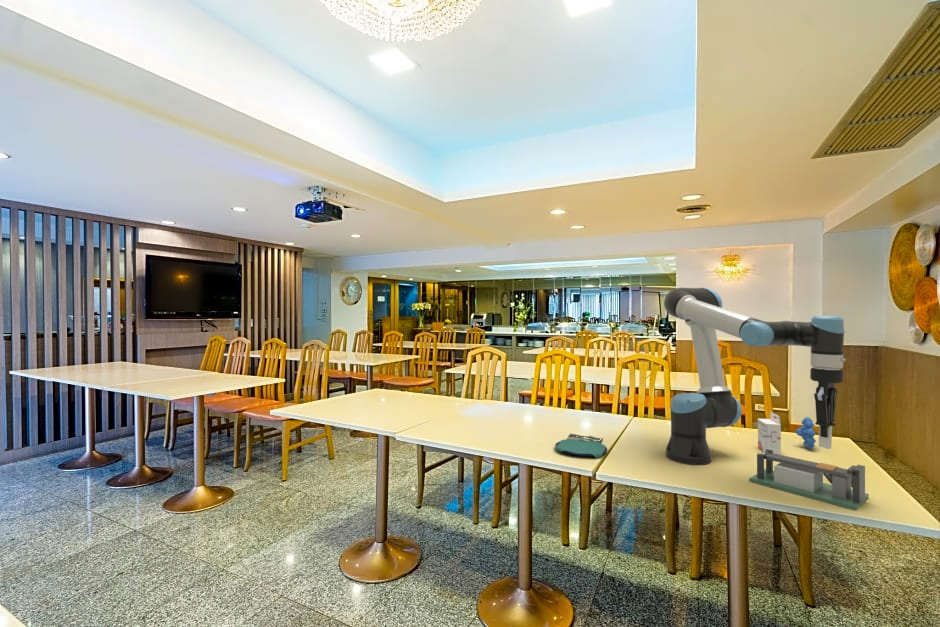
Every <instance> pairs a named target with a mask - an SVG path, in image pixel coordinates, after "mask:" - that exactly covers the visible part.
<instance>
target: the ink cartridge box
mask: <svg viewBox="0 0 940 627" xmlns="http://www.w3.org/2000/svg"><path fill="white" fill-rule="evenodd" d="M769 415H770V418H757V448H758V449H760V450H761V451H762V452H765V451H766V449H769V450H773V453H774V454H779V455H782V451H781V450H782V438H781V436H782V434H781V433H782V430H781V427H782V425H781V417H780V416H779V415H778V414H777V413H774V412H772V411H769Z"/></svg>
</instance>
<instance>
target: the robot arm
mask: <svg viewBox="0 0 940 627" xmlns="http://www.w3.org/2000/svg"><path fill="white" fill-rule="evenodd" d="M663 307H664V309H665V311H666V313H668V314H669V316H672V317H675V318H678V319H680V320H683V321H684V322H685V324H686V326H688V327H689V328H690V333H691V339H692V340H691V341H692V346H693V351H694V357H695V364H696V370H697V376H698V381H699V382H698V383H699V389H698V390H697V391H696V392H682V393H677V394H675V395H673V396H672V398H671V402H670V406H669V407H670V408H669V409H670V437H669V441H668V443H667V446H666V448H665V456H666V457H667V458H668V459H670V460H672V461H675V462H678V463H683V464H688V465H708V464H710V463H712V453H711V450H710V448H709V447H710V446H709V444H708V441H707V429H711V428H712V429H714V428H715V429H716V428H726V427H729V426H733V425H735V424H737V423H738V421H739V420H741V418H742V405H741V403H740V401H739V400H738V399H737V397H736V396H734V395H732V390H731V389H730V388H729V387H728V386H726V381H725V376H724V369H723V364H722V359H721V354H720V347H719V341H718V337H717V331H719V332H723V333H724V334H728V335H730V336H733V337H736V338H738V339H741V341H742V342H743V343H744V344H745V345H747V346H750V347H756V348H762V347H776V346H777V347H779V346H781V347H782V346H797V347H809V348H810V366H811V368H810V376H809V378H810V380H811V381H813V382H817V387H816V388H815V392H814V394H813V397H814V402H815V415H816V416H815V418H816V422H815V423H814V425H815V426H818V447H819V448H824V449H828V450H830V449H832V445H833V444H832V443H833V442H832V441H833V439H832V438H833V436H832V434H833V432H832V431H833V426H834V427H836V425H837V424H836V423H835V416H836V415H835V414H836V404H837V396H838V389H837V388H836V386H835V384H841V383H843V382H844V370H842V369H843V368H844V362H846V358H844V344H845V343H844V342H845V341H844V338H845V333H846V332H845V324H844V323H845V322H844V318H842V317H841V316H838V315H837V316H835V315H834V316H833V315H831V316H827V315H824V316H823V315H818V316H817V315H814V316H812V317H811V319H810V320H811V321H807V322H806V321H789V320H781V321H780V320H779V321H764V320H761V319H758V318H754V317H753V316H750V315H746V314H743V313H740V312H737V311H733V310H729V309H727V308H723V300H722V298H721V296H720V294H719V293H718V292H717V291H715V290H713V289H711V288H705V287H678V288H674V289H671V290H670V291H669V292H668V293H667V294H666V295H665V298H664V300H663Z"/></svg>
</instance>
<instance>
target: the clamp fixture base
mask: <svg viewBox="0 0 940 627" xmlns="http://www.w3.org/2000/svg"><path fill="white" fill-rule="evenodd" d="M766 451H769V452H770V453H773V450H769V449H766ZM846 469H847V468H846ZM847 474H850V475H849V476H847V477H842V476H837V475H832V484H831V483H830V484H829V483H825V482H824V474H823V472H820V471H816V470H811V469H807V468H802V467H798V466H794V465H789V464H785V463H780V462H778V463H777V464H775V465H774V461H772V460H767V459H764V455H763V454H761V453H756V474H755V475H753V476H751V477H749V478H748V480H749V482H750V483H755V484H758V485H760V486H765V487H768V488H772V489H776V490H779V491H783V492H787V493H789V494H794V495H796V496H797V495H798V496H801V497H804V496H805V498H808V499H812V498H813V500H815V499H816V501H819V500H820V501H819V502H823V501H824V502H823V503H826V502H828V504H830V503H831V505H833V506H834V505H835V506H837V507H840V508H841V507H842V508H845V509H848V508H849V510H852V509H853V511H855V510H856V511H857V510H858V509H859V508H860V507H861V506H862V505H863V504H864V503H863V502H864V501H865V500H866V499H867V498H868V497H869V496H870V495H869V493H866V466H865V465H863V464H857V465H851V466H850V467H848V469H847ZM851 475H853V488H851ZM868 499H869V498H868ZM868 499H867V500H868ZM867 500H866V501H867ZM866 501H865V502H866ZM862 503H863V504H862ZM861 504H862V505H861ZM860 505H861V506H860ZM859 506H860V507H859ZM858 507H859V508H858Z"/></svg>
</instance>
